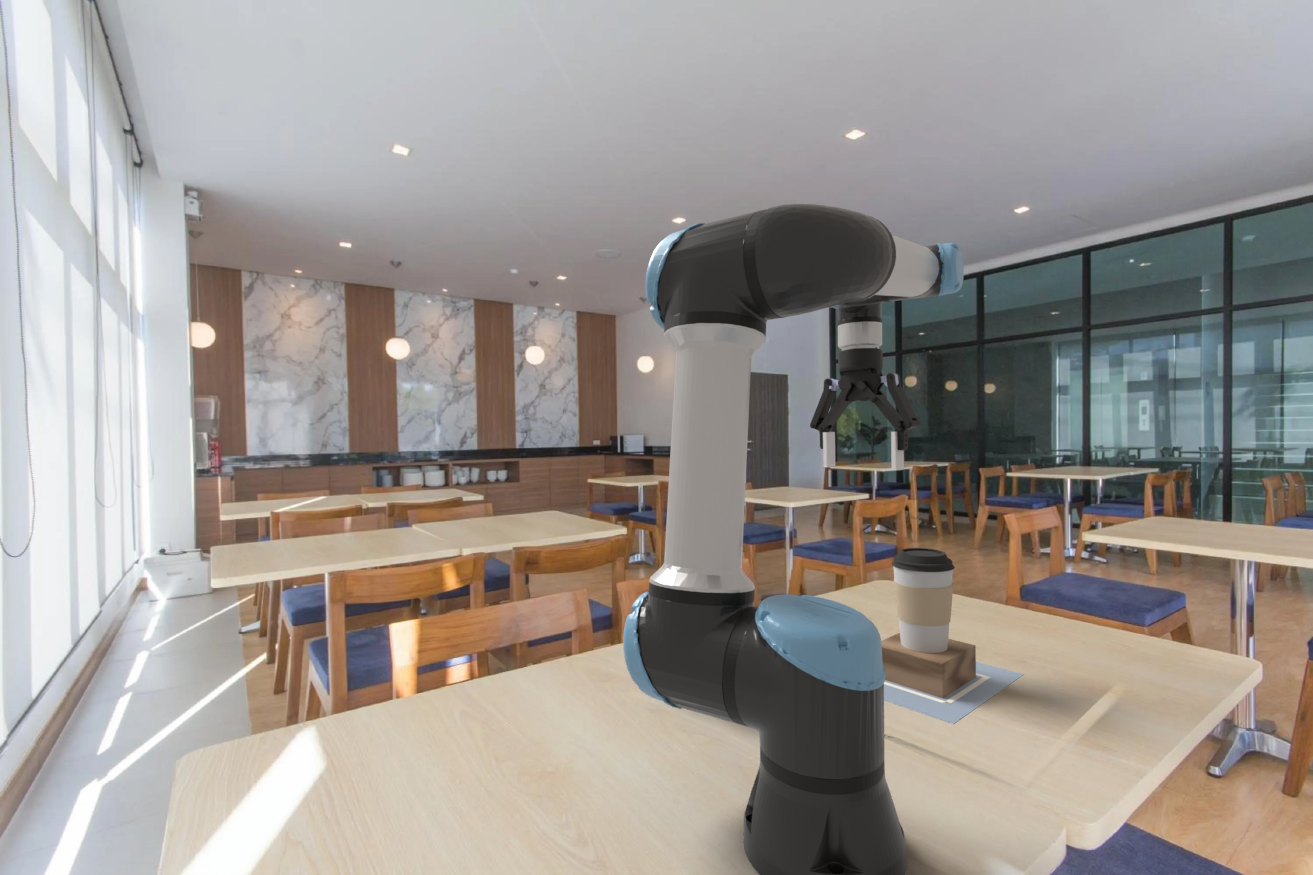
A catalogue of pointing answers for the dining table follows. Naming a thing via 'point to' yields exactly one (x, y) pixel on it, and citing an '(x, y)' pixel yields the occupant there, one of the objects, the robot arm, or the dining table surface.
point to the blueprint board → (953, 694)
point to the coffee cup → (923, 598)
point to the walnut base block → (929, 666)
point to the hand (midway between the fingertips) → (862, 468)
